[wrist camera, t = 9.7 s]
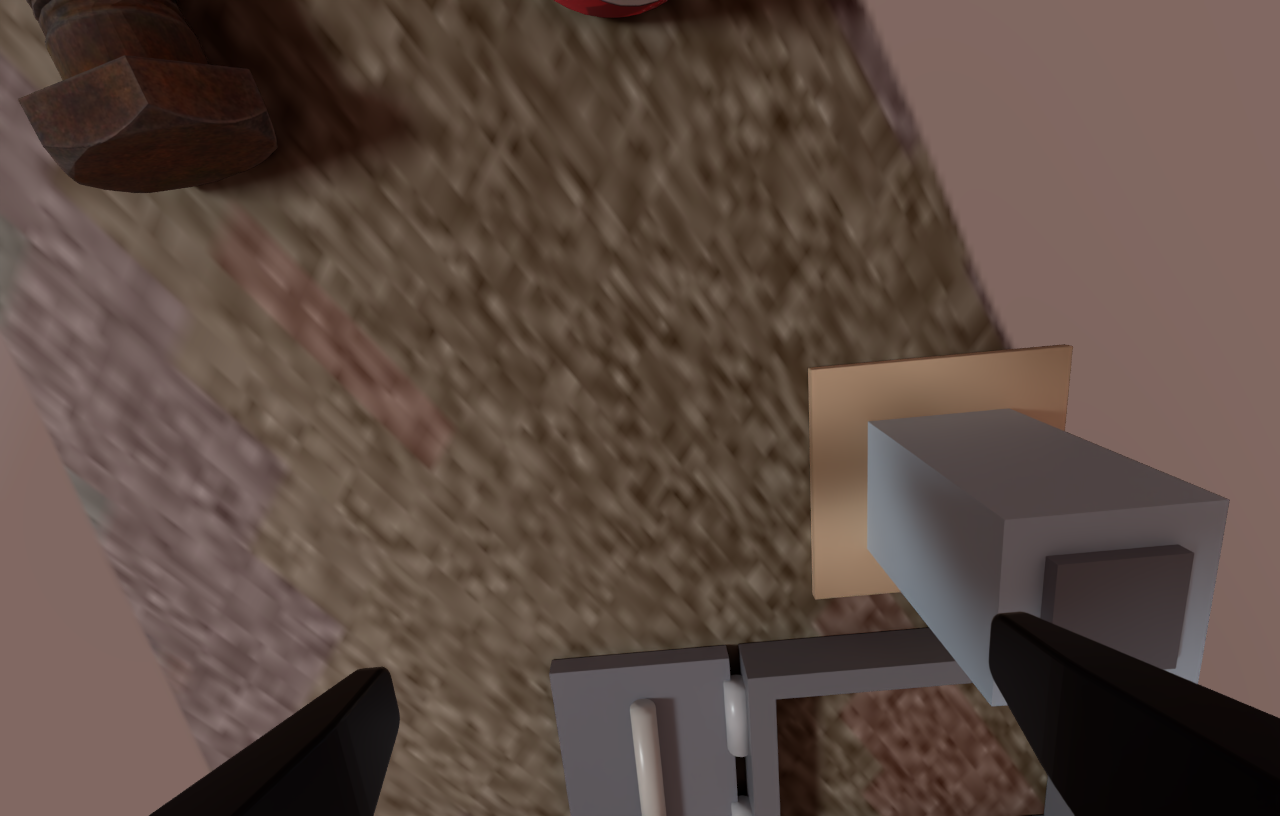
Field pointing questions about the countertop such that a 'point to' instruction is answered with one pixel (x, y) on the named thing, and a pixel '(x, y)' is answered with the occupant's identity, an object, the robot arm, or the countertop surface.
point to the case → (717, 718)
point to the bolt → (142, 100)
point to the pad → (894, 393)
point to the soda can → (611, 7)
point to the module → (1040, 537)
